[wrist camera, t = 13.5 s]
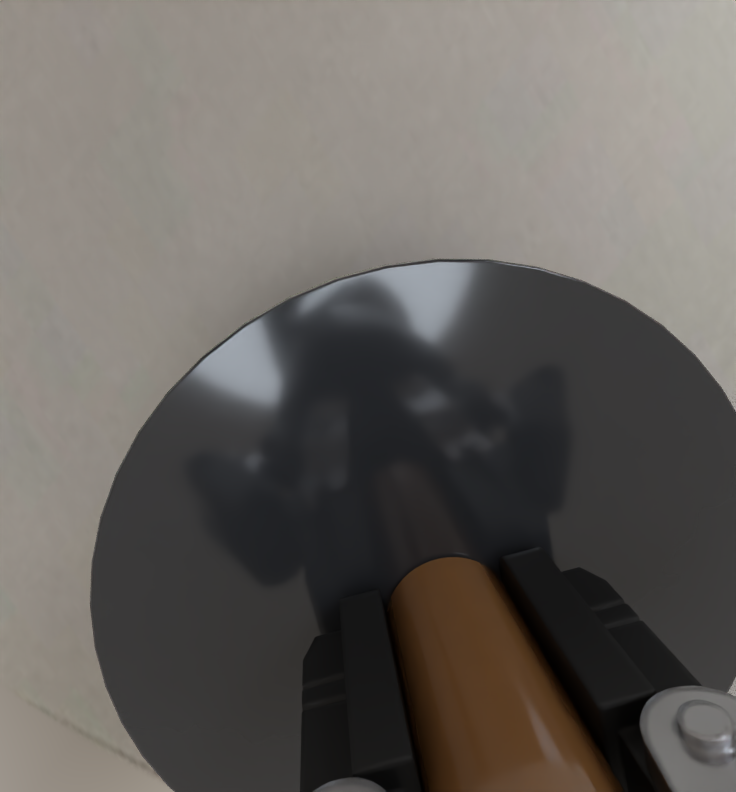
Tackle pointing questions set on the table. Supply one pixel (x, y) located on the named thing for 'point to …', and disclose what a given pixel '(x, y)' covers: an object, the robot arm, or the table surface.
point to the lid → (411, 520)
